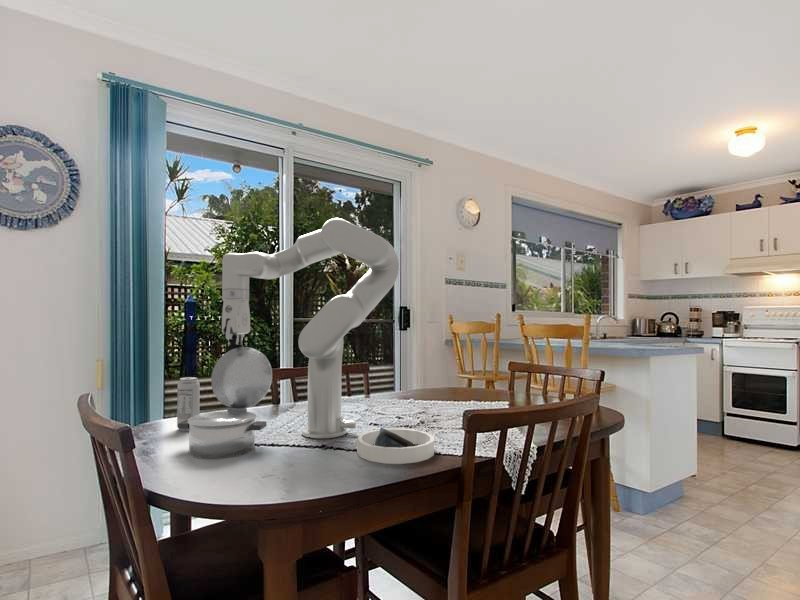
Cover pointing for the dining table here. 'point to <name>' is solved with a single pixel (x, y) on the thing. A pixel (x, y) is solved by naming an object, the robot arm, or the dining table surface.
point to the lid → (241, 378)
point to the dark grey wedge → (391, 440)
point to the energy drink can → (187, 399)
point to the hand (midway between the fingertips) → (235, 358)
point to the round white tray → (394, 453)
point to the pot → (221, 434)
